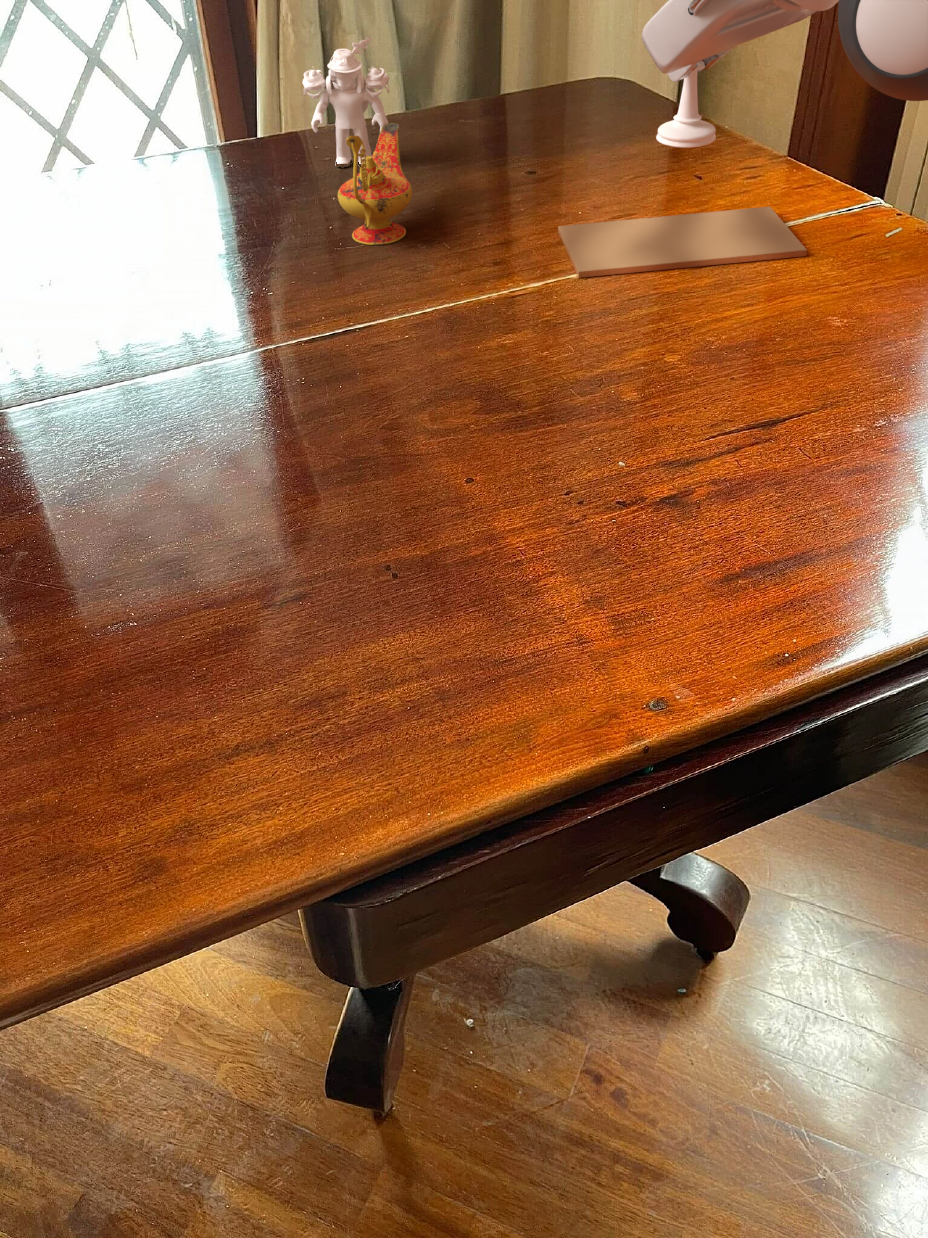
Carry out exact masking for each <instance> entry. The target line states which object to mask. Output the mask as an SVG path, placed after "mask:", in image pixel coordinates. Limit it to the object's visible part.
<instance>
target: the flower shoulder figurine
mask: <svg viewBox="0 0 928 1238" xmlns="http://www.w3.org/2000/svg"><path fill="white" fill-rule="evenodd" d="M371 40H372V38H371V37H369V36H365V39H362V40H359V42H352V44H351V45H352V47H353V49H352V50H351V49H348V48H345V47H343V48H337V49H335V51H334V52H333V55H332V56H331V58H330V60H329V62H328V63H327V65H326V66H327V68H328V75H327V76H326V77H325V78H324V76H323V74H322V73H321V72H322V70H321V69H308V70H306V71H305V72H303V77H304V78H303V79H302V85H303V87H304V88H303V90H302V93H303V96H306V94H307V95H308V96H309V97H310V98H311V99H313V100H317V99H319V100H318V102H317V104H316V107H315V110H314V113H313V116H312V120H311V122H310V123H311V129H312V131H313V132H314V133H315V134H317V132H319V128H318V126H319V125H320V124H321V125H324V118H325V117H324V113H325V112H326V111H327V109H328V107H329V105H330V104H331V106H332V108H333V110H334V112H335V122H334V127H335V143H336V145H335V146H336V147H335V148H336V153H335V154H336V159H335V163H336V162H337V164H348V163H349V162H350V160H351V159H352V160H353V157H352V153H351V152H352V151H351V148H350V147H349V146H348V145H347V142H346V140H347V138H348V137H349V136H350V130H351V129H352V133H353V136H354V135H357V136H359V137H360V138H361V139H362V141H363V143H364V149H365V150H366V153H365V155H366V157H367V156H372V155H373V153H372V150H371V145H370V141H369V135H368V134H369V133H368V128H367V125H368V124H367V121H366V118H365V112H366V111H367V110H368V107H369V105H370V106H371V109H372V110H373V112H374V115H373V117H372V118H371V119H372V120H371V126H375V123H378V125H379V133H380V132H381V129H382V127H383V126H384V125H385V124H389V121H388V118H387V116H386V112H385V109H384V106H383V103H382V101H381V99H380V98H379V96H380V95H381V94H382V92H383V90H384V88H385V89H386V92H387V94H390V84H389V81H390V77H389V75H388V74H387V73H386V69H384V68H382V67H379V68H378V67H374V65H371V67H370V68H368V69H367V71H368V73H367V76H366V77H365V76H364V74H362V73H363V72H362V66H363V63H362V61H360V60H359V59H358V58H357V56H356V55H362V50H365V49H369V47H368V45H371V42H370V41H371ZM312 68H315V66H312ZM380 70H381V71H380ZM375 90H379V91H375ZM311 91H312V92H313V91H314V92H318V93H315V94H314V93H310V92H311ZM361 149H362V144H361V147H360V150H361ZM360 150H359V154H360ZM361 153H362V152H361ZM364 157H365V156H364ZM362 159H364V158H362ZM360 161H361V159H360V156H358V161H357V163H358V162H359V164H361V163H360ZM364 162H365V161H364Z"/></svg>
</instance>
